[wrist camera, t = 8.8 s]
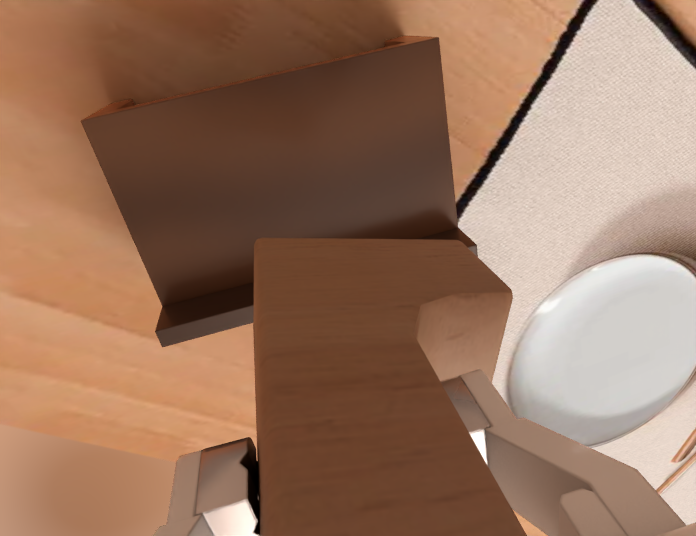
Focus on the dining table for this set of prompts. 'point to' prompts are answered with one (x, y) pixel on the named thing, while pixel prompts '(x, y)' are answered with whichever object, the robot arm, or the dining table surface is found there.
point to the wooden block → (373, 387)
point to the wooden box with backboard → (277, 172)
